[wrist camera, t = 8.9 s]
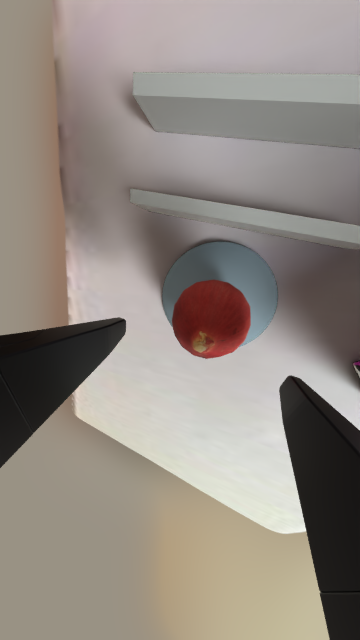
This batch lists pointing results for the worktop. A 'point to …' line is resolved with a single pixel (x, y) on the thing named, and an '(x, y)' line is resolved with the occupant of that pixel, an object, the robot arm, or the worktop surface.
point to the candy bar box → (357, 368)
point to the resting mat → (226, 279)
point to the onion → (211, 318)
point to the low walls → (253, 135)
